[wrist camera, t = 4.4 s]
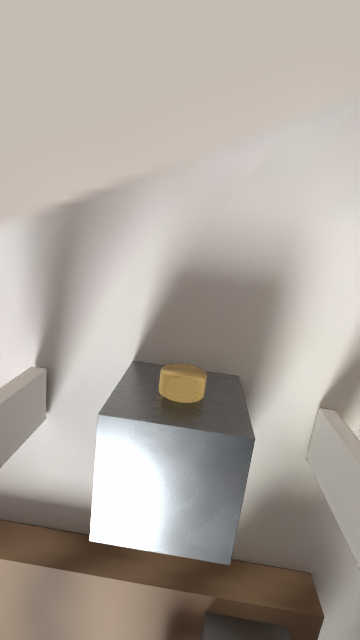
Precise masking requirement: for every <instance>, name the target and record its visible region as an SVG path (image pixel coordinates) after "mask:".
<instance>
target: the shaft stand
mask: <svg viewBox="0 0 360 640" xmlns="http://www.w3.org/2000/svg"><path fill="white" fill-rule="evenodd" d="M323 619H324V614H323V611H322V608H321V605H320V602H319V599H318V596H317V593H316V590H315V587H314V584H313V580H312V577H311V574H310V573H305V572H299V571H293V570H287V569H282V568H276V567H270V566H264V565H258V564H252V563H247V562H241V561H235V560H231V562H230V565H226V564H220V563H214V562H208V561H203V560H197V559H191V558H186V557H180V556H174V555H168V554H163V553H157V552H151V551H145V550H140V549H134V548H128V547H123V546H117V545H111V544H105V543H100V542H94V541H90V535H84V534H78V533H72V532H66V531H61V530H55V529H49V528H43V527H37V526H31V525H26V524H20V523H14V522H8V521H2V520H0V640H317V639H318V636H319V633H320V629H321V626H322V623H323Z"/></svg>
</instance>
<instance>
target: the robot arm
mask: <svg viewBox="0 0 360 640" xmlns="http://www.w3.org/2000/svg"><path fill="white" fill-rule="evenodd" d="M46 378H47V369H44V368H37V367H30V368H29V369H27V370H26V371H24V372H23V373H22V374H20V375H19V376H17V377H16V378H14V379H13V380H11V381H10V382H8V383H7V384H6V385H4V386H3V387H1V388H0V468H1V467H2V466H3V464H4V463H5V462H6V461H7V460H8V459H9V458H10V457H11V456H12V455H13V454H14V453H15V452H16V450H17V449H18V448H19V447H20V446H21V445H22V444H23V443H24V442H25V441H26V440H27V439H28V438H29V436H30V435H31V434H32V433H33V432H34V431H35V430H36V429H37V428H38V427H39V426H40V425H41V424H42V422H43V421H44V420H45V419H46ZM306 459H307V461H308V463H309V465H310V467H311V469H312V471H313V473H314V476H315V478H316V480H317V482H318V484H319V486H320V488H321V490H322V492H323V494H324V496H325V498H326V500H327V503H328V505H329V507H330V509H331V511H332V513H333V515H334V517H335V519H336V521H337V523H338V525H339V527H340V530H341V532H342V534H343V536H344V538H345V540H346V542H347V544H348V546H349V548H350V550H351V552H352V555H353V557H354V559H355V561H356V563H357V565H358V567H359V569H360V440H359V439H358V438H357V437H356V435H355V434H354V433H353V432H352V430H351V429H350V428H349V427H348V425H347V424H346V423H345V422H344V420H343V419H342V418H341V417H340V415H339V414H338V413H337V412H336V410H330V409H323V408H319V409H318V413H317V417H316V421H315V425H314V429H313V433H312V437H311V441H310V445H309V450H308V454H307V458H306Z"/></svg>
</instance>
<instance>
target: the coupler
mask: <svg viewBox="0 0 360 640" xmlns="http://www.w3.org/2000/svg"><path fill="white" fill-rule="evenodd" d="M254 442H255V436H254V432H253V429H252V425H251V421H250V417H249V414H248V410H247V406H246V402H245V399H244V395H243V391H242V387H241V384H240V380H239V376H234V375H227V374H220V373H213V372H206V371H203V370H202V369H200V368H198V367H195V366H192V365H188V364H168V365H158V364H151V363H144V362H137V361H133V362H132V363H131V365H130V366H129V368H128V369H127V371H126V372H125V374H124V375H123V377H122V379H121V380H120V382H119V383H118V385H117V386H116V388H115V389H114V391H113V392H112V394H111V395H110V397H109V398H108V400H107V402H106V403H105V405H104V406H103V408H102V409H101V411H100V412H99V414H98V422H97V437H96V452H95V467H94V482H93V497H92V512H91V527H90V541H94V542H100V543H105V544H111V545H117V546H123V547H128V548H134V549H140V550H145V551H151V552H157V553H163V554H168V555H174V556H180V557H186V558H191V559H197V560H203V561H208V562H214V563H220V564H226V565H230V562H231V557H232V552H233V547H234V542H235V537H236V532H237V527H238V522H239V517H240V512H241V507H242V502H243V497H244V492H245V487H246V482H247V477H248V472H249V467H250V462H251V457H252V452H253V447H254Z"/></svg>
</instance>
